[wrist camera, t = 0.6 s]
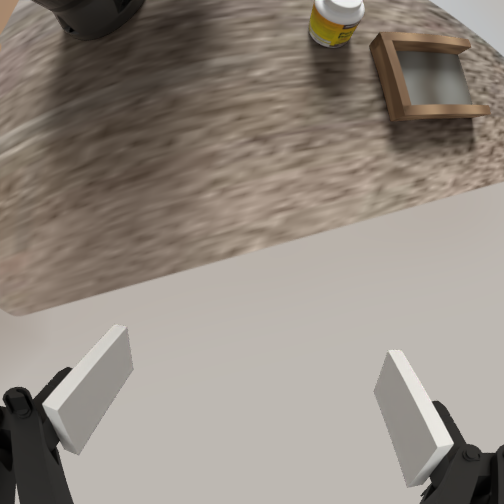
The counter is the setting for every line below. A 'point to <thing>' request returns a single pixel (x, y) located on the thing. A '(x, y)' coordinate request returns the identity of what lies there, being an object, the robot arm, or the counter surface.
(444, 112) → the walnut u rest
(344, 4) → the supplement bottle
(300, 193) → the counter surface
